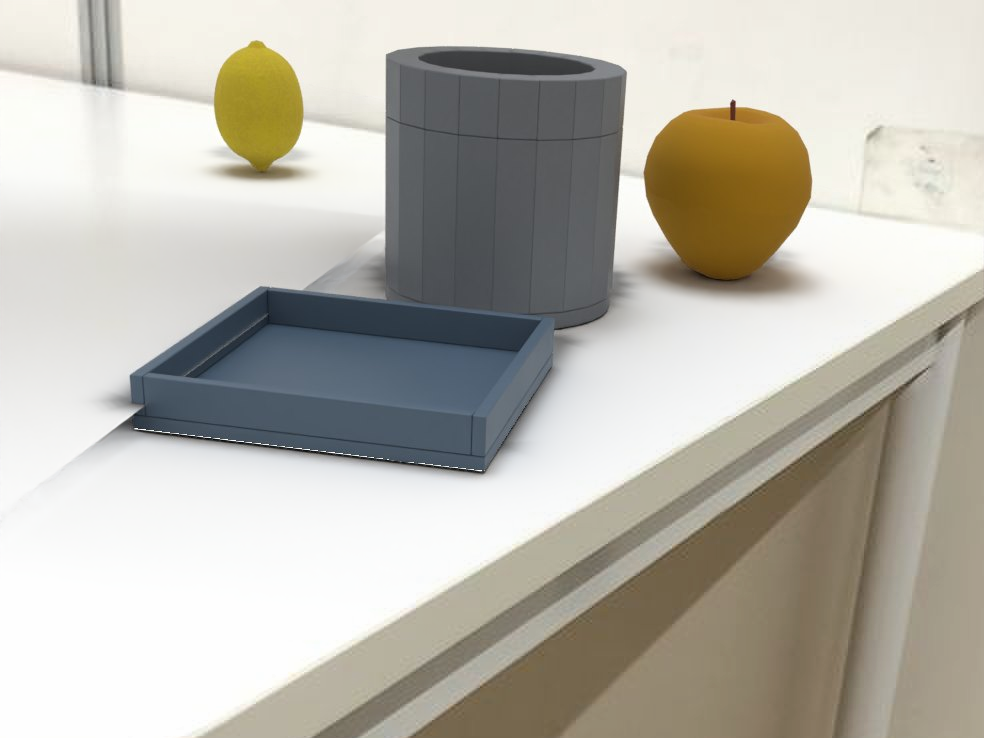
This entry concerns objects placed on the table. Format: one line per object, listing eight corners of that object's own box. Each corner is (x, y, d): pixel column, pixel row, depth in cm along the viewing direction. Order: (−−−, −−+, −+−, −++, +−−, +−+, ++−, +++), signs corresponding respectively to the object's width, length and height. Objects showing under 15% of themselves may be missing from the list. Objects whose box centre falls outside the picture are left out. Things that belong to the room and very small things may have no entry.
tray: (133, 430, 54) (128, 374, 53) (261, 332, 66) (259, 285, 65) (484, 473, 53) (486, 416, 52) (552, 365, 64) (555, 317, 63)
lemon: (199, 168, 96) (192, 37, 93) (265, 159, 100) (261, 33, 97) (257, 183, 93) (252, 48, 90) (322, 173, 97) (320, 43, 94)
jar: (356, 316, 69) (355, 64, 64) (419, 261, 78) (422, 40, 74) (589, 341, 68) (606, 87, 63) (623, 283, 77) (640, 59, 72)
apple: (674, 243, 86) (688, 80, 82) (822, 269, 83) (845, 100, 79) (609, 274, 79) (621, 97, 75) (769, 304, 76) (791, 120, 72)
